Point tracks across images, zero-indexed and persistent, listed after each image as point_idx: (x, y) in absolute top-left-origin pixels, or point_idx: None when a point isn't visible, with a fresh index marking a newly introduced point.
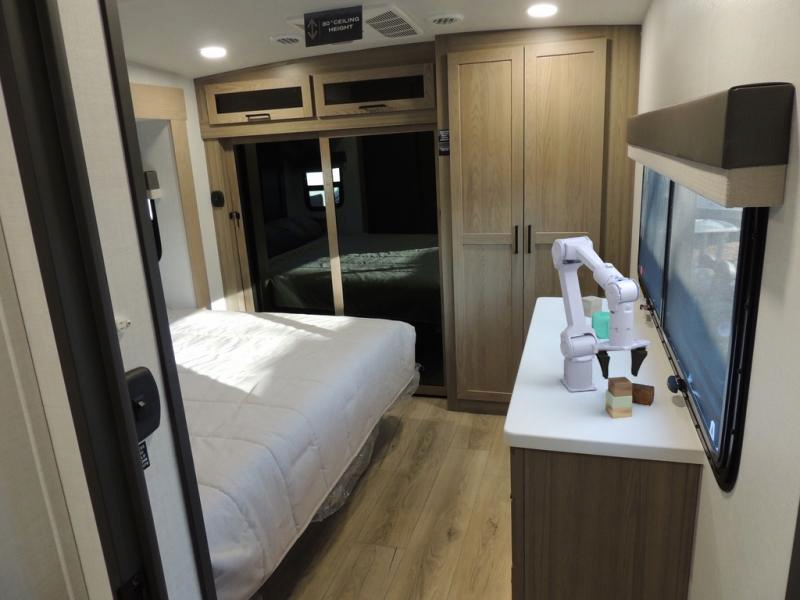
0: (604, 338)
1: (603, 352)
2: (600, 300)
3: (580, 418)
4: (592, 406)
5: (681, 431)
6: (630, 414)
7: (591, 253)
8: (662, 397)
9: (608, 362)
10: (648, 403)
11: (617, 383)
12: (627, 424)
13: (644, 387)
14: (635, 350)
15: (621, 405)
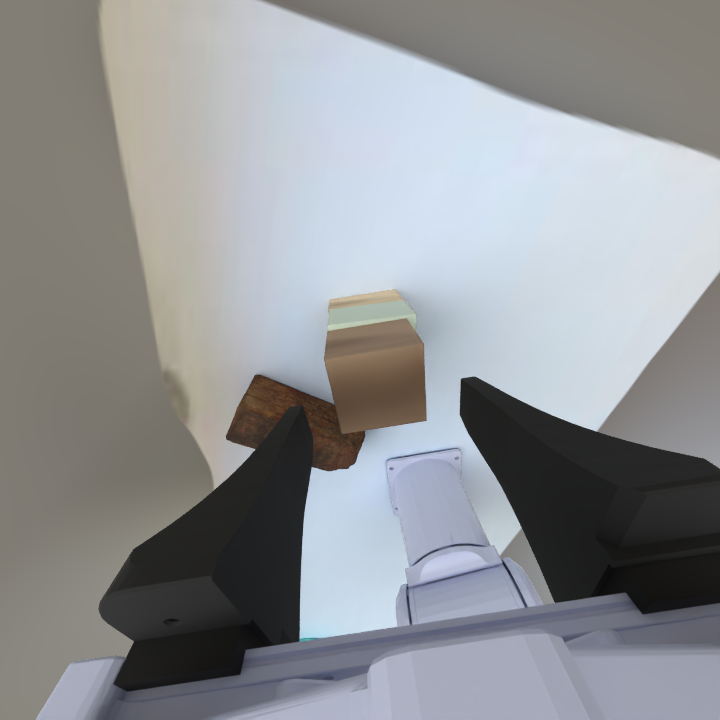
0: (309, 638)
1: (681, 573)
2: None
3: (498, 290)
4: (430, 371)
5: (160, 165)
6: (334, 301)
7: None
8: (215, 425)
9: (557, 445)
10: (260, 379)
11: (405, 357)
12: (357, 239)
13: (260, 429)
14: (257, 627)
15: (371, 306)
